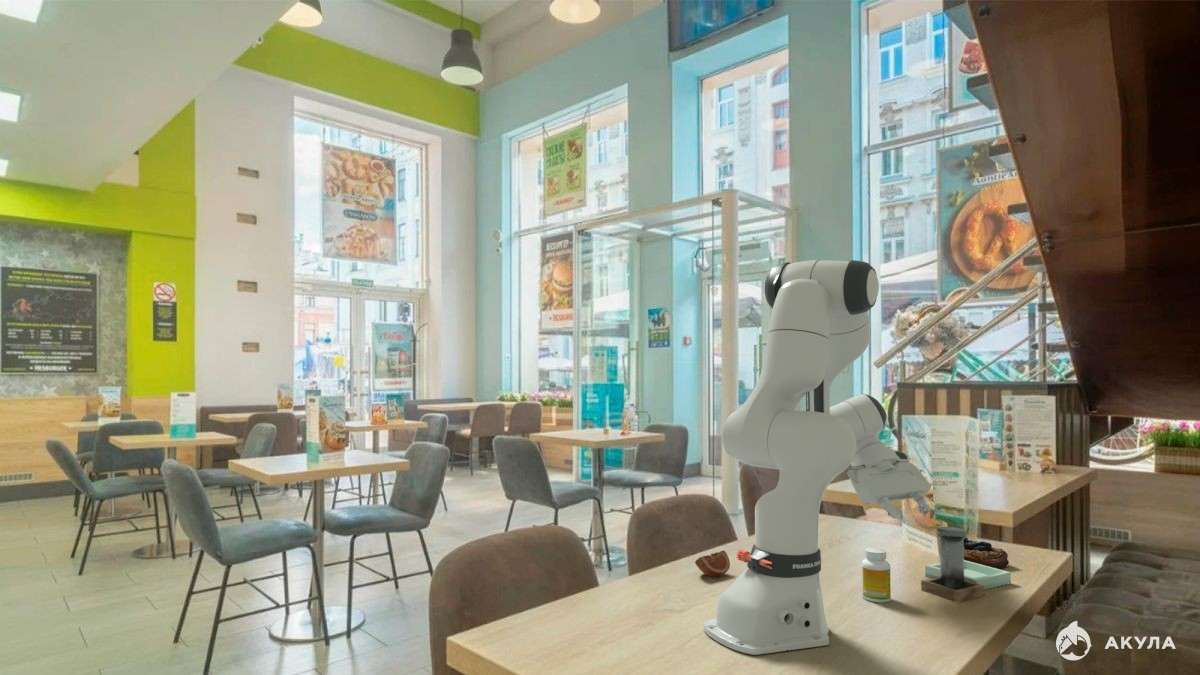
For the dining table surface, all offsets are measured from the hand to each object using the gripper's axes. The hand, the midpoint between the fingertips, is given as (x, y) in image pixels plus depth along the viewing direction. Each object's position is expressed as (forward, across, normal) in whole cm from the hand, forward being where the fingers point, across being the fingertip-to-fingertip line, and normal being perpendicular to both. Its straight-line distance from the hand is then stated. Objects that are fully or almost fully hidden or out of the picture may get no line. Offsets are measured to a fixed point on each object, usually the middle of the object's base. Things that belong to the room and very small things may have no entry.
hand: (912, 514), depth 151 cm
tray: (+14, +11, +6) cm, 19 cm away
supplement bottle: (+13, -17, +7) cm, 23 cm away
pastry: (+9, +26, +12) cm, 30 cm away
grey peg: (+17, 0, +4) cm, 17 cm away
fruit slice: (-6, -37, +27) cm, 46 cm away
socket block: (+17, 0, +4) cm, 17 cm away
